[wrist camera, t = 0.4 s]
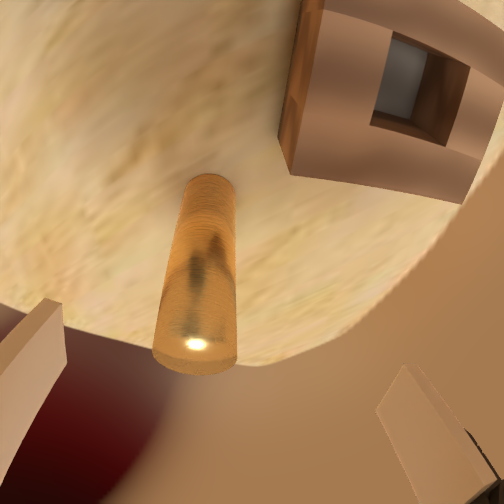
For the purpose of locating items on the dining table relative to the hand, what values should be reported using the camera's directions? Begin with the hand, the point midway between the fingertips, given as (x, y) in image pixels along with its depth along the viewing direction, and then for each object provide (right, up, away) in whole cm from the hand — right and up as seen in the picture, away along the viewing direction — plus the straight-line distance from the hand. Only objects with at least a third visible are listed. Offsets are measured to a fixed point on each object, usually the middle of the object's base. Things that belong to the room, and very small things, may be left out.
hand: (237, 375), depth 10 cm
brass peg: (-3, +9, +14) cm, 17 cm away
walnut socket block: (+10, +17, +7) cm, 21 cm away
